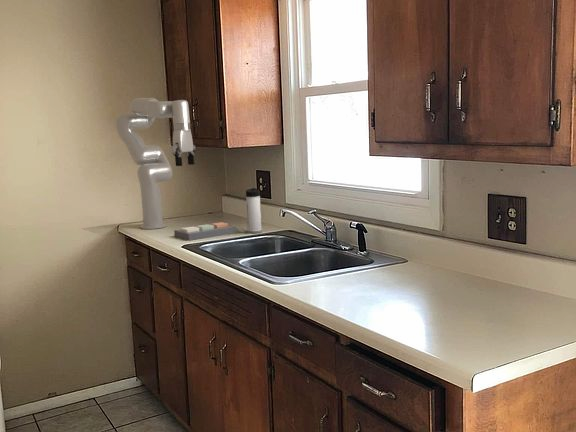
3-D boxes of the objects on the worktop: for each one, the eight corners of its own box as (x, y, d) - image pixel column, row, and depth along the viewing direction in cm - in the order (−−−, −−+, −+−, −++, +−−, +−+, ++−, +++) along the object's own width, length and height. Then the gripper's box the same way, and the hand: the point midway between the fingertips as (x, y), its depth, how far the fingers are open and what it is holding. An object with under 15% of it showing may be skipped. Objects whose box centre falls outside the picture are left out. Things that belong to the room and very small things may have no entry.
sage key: (196, 231, 297) (195, 226, 297) (207, 229, 300) (207, 224, 300) (202, 232, 292) (202, 227, 292) (214, 230, 296) (213, 225, 295)
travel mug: (262, 230, 301) (260, 187, 298) (260, 233, 295) (258, 189, 292) (249, 231, 302) (246, 188, 299) (246, 233, 295) (244, 189, 292)
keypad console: (174, 236, 295) (174, 230, 295) (220, 229, 309) (219, 223, 309) (189, 240, 284) (188, 233, 284) (236, 233, 298) (235, 226, 298)
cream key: (181, 233, 292) (180, 228, 292) (193, 231, 296) (192, 226, 296) (187, 235, 288) (187, 229, 287) (199, 233, 291) (199, 227, 291)
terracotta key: (210, 228, 301) (210, 223, 301) (221, 227, 305) (221, 222, 305) (217, 230, 297) (217, 225, 296) (228, 228, 300) (228, 223, 300)
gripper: (186, 127, 306) (189, 164, 308) (163, 128, 290) (167, 167, 293) (199, 126, 303) (202, 163, 305) (177, 127, 287) (181, 166, 289)
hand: (185, 165), depth 299 cm, fingers open, 9 cm apart
